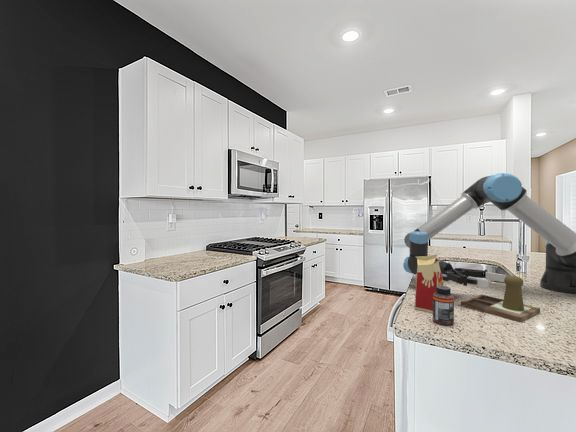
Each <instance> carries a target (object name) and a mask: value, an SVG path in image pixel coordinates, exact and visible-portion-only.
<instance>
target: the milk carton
mask: <svg viewBox="0 0 576 432" xmlns="http://www.w3.org/2000/svg"><path fill="white" fill-rule="evenodd" d="M437 257H438V254H437V253H436V254H431V255H428V256H421V257H416V258H417V263H418V267H417V275H416V278H415V279H416V280H415V294H414V310H419V311H423V312H427V313H430V314H433V294H434V293H435V292H436V287H437V286H445V285H444V280H443V279H442V274H441V270H440V266H439V262H438V261H439V260H438V258H437Z"/></svg>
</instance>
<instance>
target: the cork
mask: <svg viewBox="0 0 576 432" xmlns="http://www.w3.org/2000/svg"><path fill="white" fill-rule="evenodd" d="M504 282H505V283H504ZM504 282H503V283H504V284H505V289H504V293H503V294H504V295H503V298H502V299H503V304H502V307H504V308H506V309H509V310H514V311H524V305H525V304H524V298H523V292H522V287H523V285H524V280H523V278H522V277H520V276H516V275H506V277H505V279H504Z"/></svg>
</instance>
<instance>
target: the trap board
mask: <svg viewBox="0 0 576 432" xmlns="http://www.w3.org/2000/svg"><path fill="white" fill-rule="evenodd" d="M503 299H504V298H499V297H495V296H489V295H485V294H480V295H476V296H473V297H470V298H468V299H464V300H462V301H460V306H461V307H464V308H468V309H473V310H476V311H479V312H482V313H486V314H489V315H494V316H497V317H501V318H504V319H508V320H509V321H510V320H511V321H514V322H517V323H523V322H525V321H526V320H528V319H531V318H533V317H534V316H536V315H539V314H540V313H541V308H540V307H537V306H532V305H528V304H524V311H514V310H509V309H506V308H504V307H502V304H503Z"/></svg>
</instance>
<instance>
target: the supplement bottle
mask: <svg viewBox="0 0 576 432" xmlns="http://www.w3.org/2000/svg"><path fill="white" fill-rule="evenodd" d="M454 297H455V296H454V295H453V294H452V293H451V287H449V286H446V285H444V286H437V287H436V292H435V293H434V294H433V313H432V320H433V322H435V323H436V324H439V325H443V326H451V325H453V324H454V323H455V322H454V320H455V298H454Z"/></svg>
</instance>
